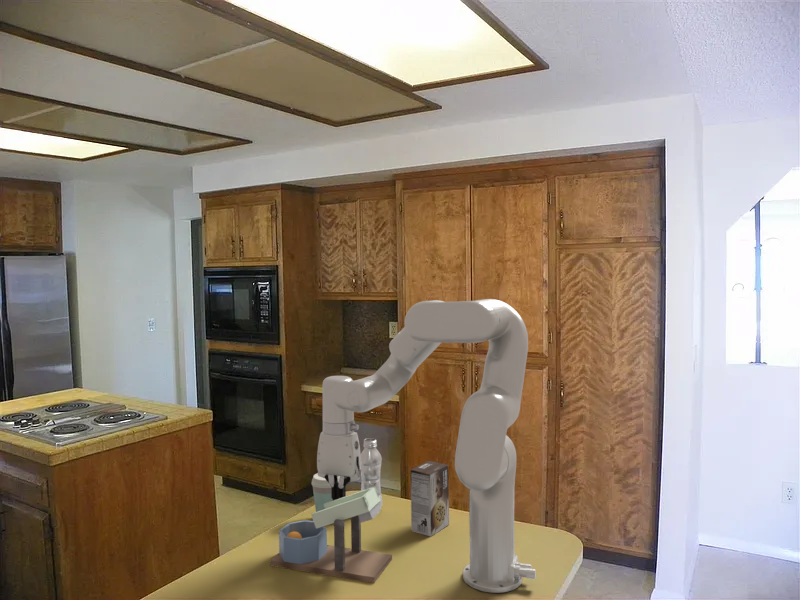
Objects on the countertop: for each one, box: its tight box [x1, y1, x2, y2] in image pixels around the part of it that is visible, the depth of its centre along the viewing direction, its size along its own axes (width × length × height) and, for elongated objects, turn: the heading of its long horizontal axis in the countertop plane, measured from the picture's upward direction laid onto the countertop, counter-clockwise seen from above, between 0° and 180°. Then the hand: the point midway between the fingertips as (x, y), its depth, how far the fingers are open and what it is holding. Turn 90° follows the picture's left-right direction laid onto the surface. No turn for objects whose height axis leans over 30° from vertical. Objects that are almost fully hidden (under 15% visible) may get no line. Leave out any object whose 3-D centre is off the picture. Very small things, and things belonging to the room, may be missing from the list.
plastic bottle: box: [360, 437, 384, 510], centre depth 165 cm, size 6×7×20 cm
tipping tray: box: [310, 486, 382, 529], centre depth 136 cm, size 14×13×5 cm
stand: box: [269, 515, 393, 584], centre depth 134 cm, size 26×11×12 cm, turn 71°
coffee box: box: [410, 460, 450, 537], centre depth 153 cm, size 9×6×16 cm
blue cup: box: [278, 519, 328, 564], centre depth 137 cm, size 10×10×6 cm
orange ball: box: [286, 531, 302, 539], centre depth 138 cm, size 4×4×4 cm
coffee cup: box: [311, 472, 340, 512], centre depth 159 cm, size 8×8×12 cm
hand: (338, 502), depth 143 cm, fingers closed
